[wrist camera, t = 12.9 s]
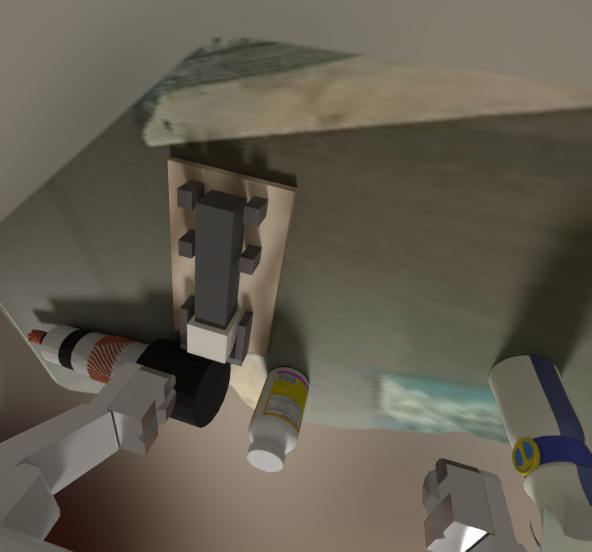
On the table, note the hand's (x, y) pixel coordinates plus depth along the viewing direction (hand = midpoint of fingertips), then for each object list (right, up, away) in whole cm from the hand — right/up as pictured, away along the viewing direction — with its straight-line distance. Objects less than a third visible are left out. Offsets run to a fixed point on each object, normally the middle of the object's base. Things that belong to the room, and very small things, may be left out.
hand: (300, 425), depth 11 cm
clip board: (-9, +6, +34) cm, 36 cm away
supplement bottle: (-1, -11, +43) cm, 45 cm away
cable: (-26, -6, +47) cm, 54 cm away
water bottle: (+28, -8, +34) cm, 44 cm away
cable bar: (-9, +5, +33) cm, 35 cm away
